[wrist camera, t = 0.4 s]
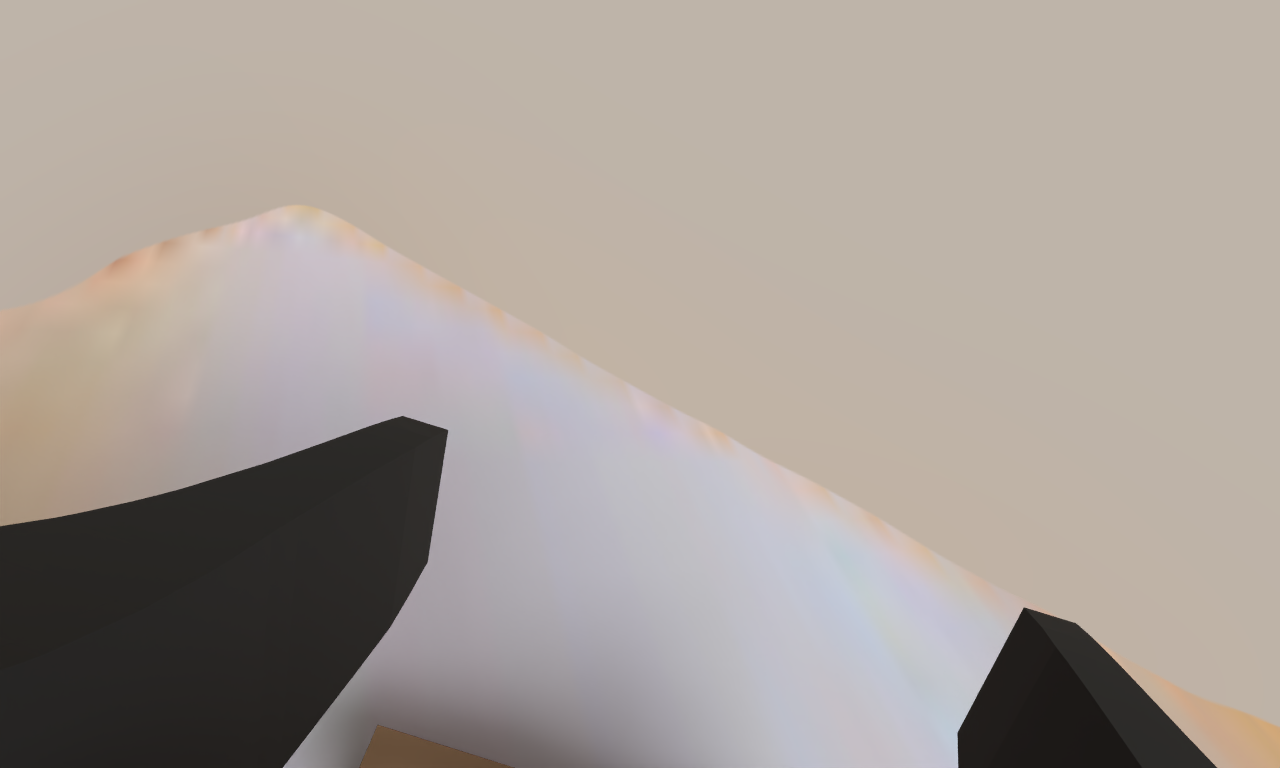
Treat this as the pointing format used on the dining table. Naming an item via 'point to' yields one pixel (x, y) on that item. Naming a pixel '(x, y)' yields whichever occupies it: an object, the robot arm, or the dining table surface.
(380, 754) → the walnut tunnel rails
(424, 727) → the dining table surface
